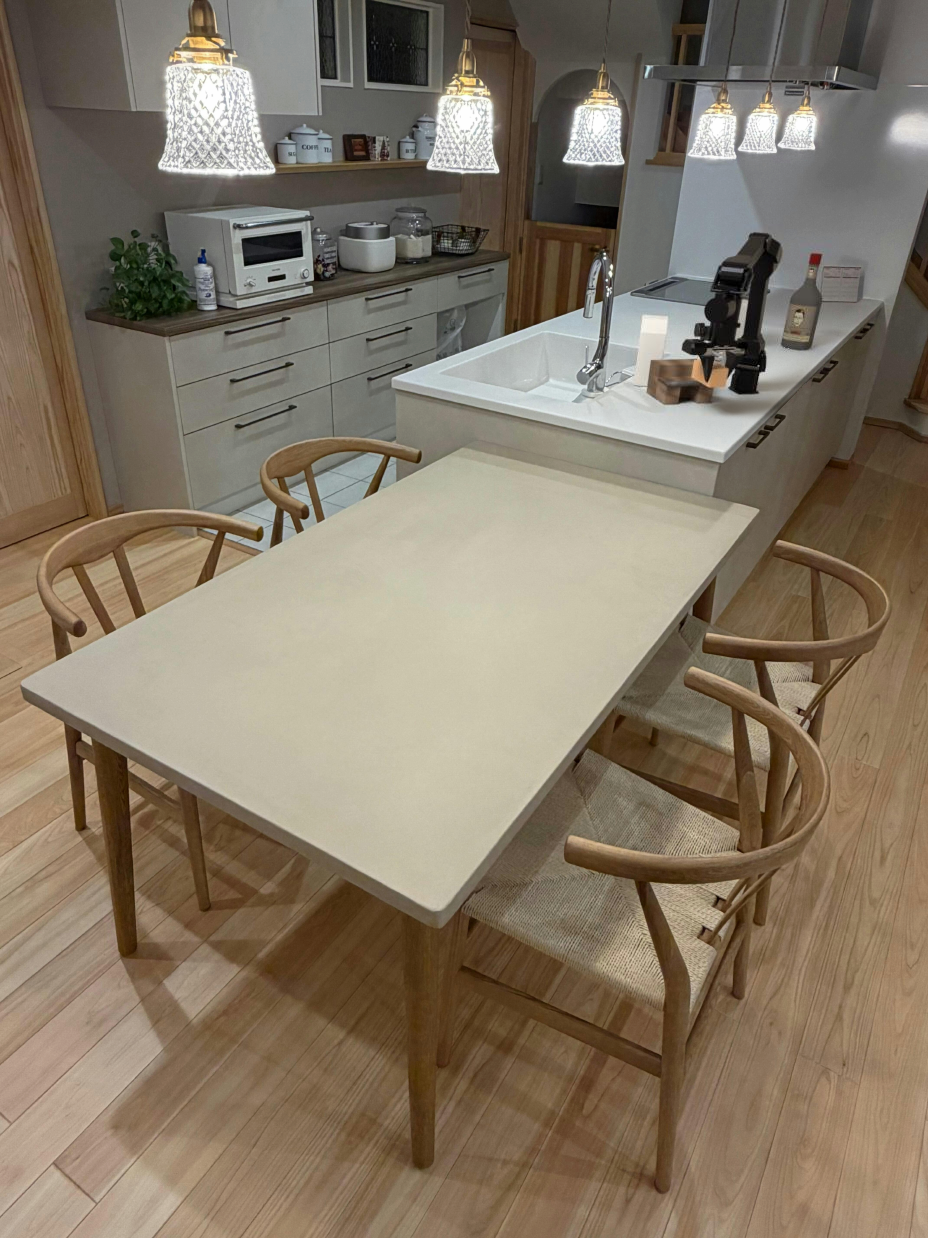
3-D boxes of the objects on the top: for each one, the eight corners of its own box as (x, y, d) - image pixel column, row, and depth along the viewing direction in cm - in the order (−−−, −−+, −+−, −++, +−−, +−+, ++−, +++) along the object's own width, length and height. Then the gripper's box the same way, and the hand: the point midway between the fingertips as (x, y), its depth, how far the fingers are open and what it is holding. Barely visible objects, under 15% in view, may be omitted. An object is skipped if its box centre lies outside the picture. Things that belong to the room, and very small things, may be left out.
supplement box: (755, 350, 286) (764, 304, 278) (728, 348, 288) (736, 302, 280) (752, 345, 294) (761, 299, 286) (726, 343, 295) (734, 298, 288)
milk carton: (658, 387, 241) (668, 318, 232) (633, 385, 242) (642, 316, 233) (658, 381, 247) (668, 313, 238) (634, 379, 248) (643, 312, 239)
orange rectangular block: (707, 376, 221) (710, 359, 218) (725, 386, 212) (728, 368, 210) (691, 377, 220) (694, 359, 217) (709, 387, 211) (712, 369, 209)
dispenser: (692, 390, 239) (698, 358, 235) (713, 403, 228) (719, 370, 224) (644, 392, 236) (649, 359, 232) (664, 405, 225) (669, 371, 221)
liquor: (786, 342, 298) (806, 251, 283) (812, 346, 294) (834, 253, 279) (778, 347, 292) (798, 253, 277) (805, 351, 288) (826, 256, 272)
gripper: (745, 310, 213) (733, 372, 221) (677, 310, 209) (667, 374, 217) (768, 318, 204) (754, 383, 212) (697, 319, 200) (686, 385, 208)
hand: (715, 381), depth 212 cm, fingers closed on orange rectangular block, 4 cm apart
